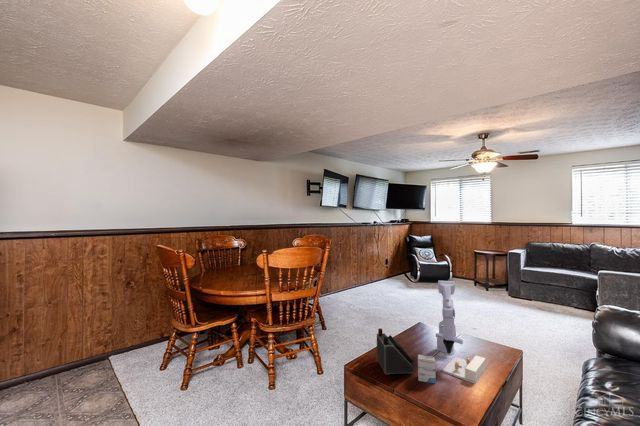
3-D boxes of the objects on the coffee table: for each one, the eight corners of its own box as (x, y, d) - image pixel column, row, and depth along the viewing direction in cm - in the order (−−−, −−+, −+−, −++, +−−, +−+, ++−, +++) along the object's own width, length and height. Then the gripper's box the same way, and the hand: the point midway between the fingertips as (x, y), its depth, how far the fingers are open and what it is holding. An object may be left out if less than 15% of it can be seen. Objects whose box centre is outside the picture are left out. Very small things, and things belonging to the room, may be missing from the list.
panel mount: (442, 371, 154) (442, 360, 155) (455, 358, 169) (455, 348, 169) (475, 384, 143) (475, 372, 143) (486, 368, 157) (486, 358, 157)
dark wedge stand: (414, 375, 151) (414, 338, 152) (385, 376, 150) (384, 339, 151) (403, 360, 167) (403, 326, 168) (376, 361, 166) (376, 327, 167)
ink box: (435, 378, 148) (434, 356, 148) (435, 384, 143) (435, 360, 143) (418, 375, 151) (417, 353, 151) (418, 380, 146) (417, 358, 146)
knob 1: (454, 370, 153) (454, 363, 153) (457, 367, 156) (457, 360, 156) (460, 372, 151) (460, 365, 151) (462, 369, 154) (462, 362, 154)
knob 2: (466, 365, 158) (466, 359, 158) (468, 363, 160) (468, 356, 160) (471, 367, 156) (471, 360, 156) (474, 365, 158) (473, 358, 158)
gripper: (433, 327, 163) (433, 351, 162) (459, 334, 153) (460, 359, 152) (438, 324, 168) (438, 347, 167) (464, 331, 158) (464, 355, 157)
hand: (449, 352), depth 160 cm, fingers closed
